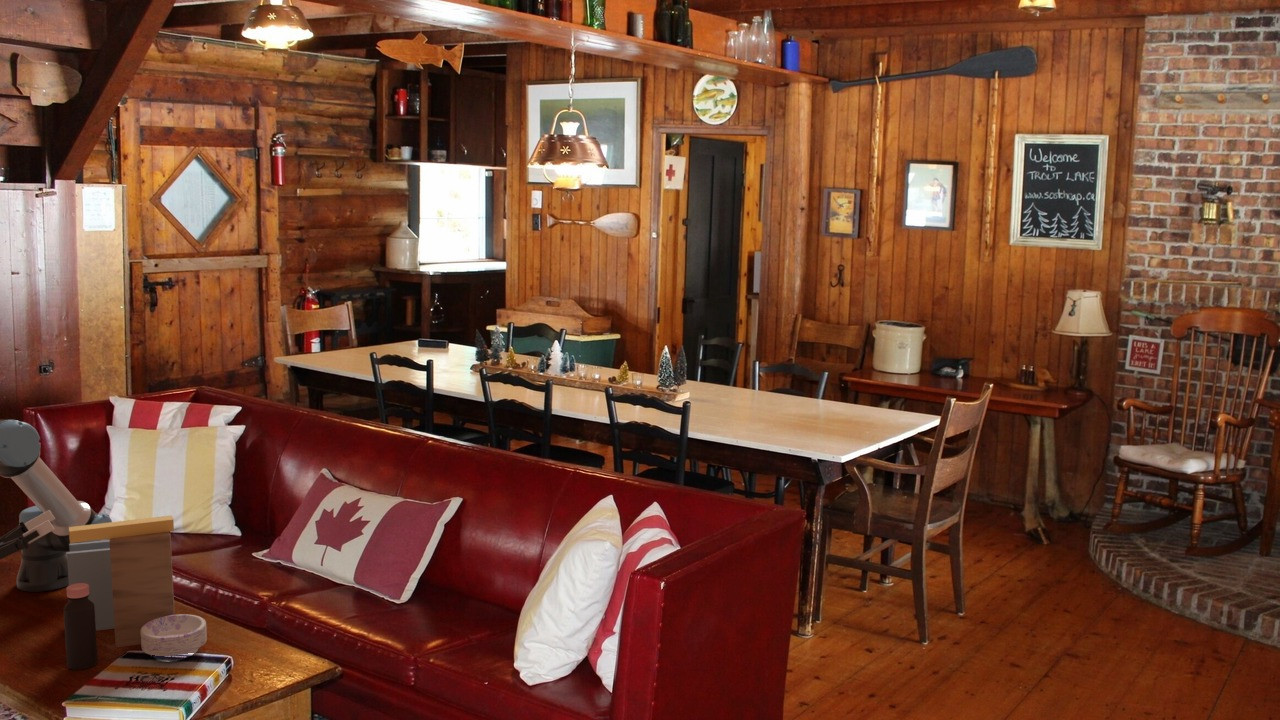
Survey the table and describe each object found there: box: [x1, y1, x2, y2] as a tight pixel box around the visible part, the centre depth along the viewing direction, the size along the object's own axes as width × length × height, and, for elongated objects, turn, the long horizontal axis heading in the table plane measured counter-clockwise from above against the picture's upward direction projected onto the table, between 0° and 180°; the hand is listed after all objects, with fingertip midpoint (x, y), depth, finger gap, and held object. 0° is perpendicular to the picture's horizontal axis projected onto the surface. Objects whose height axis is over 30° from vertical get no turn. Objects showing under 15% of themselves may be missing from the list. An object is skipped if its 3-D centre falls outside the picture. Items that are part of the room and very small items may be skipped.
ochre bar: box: [69, 515, 175, 543], centre depth 298 cm, size 4×24×3 cm, turn 118°
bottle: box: [63, 583, 99, 671], centre depth 285 cm, size 7×7×20 cm
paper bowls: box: [140, 613, 208, 656], centre depth 293 cm, size 15×15×8 cm
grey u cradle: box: [66, 540, 115, 632], centre depth 311 cm, size 9×16×22 cm, turn 111°
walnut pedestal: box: [109, 531, 176, 648], centre depth 301 cm, size 8×14×28 cm, turn 111°
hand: (51, 519), depth 296 cm, fingers open, 13 cm apart
